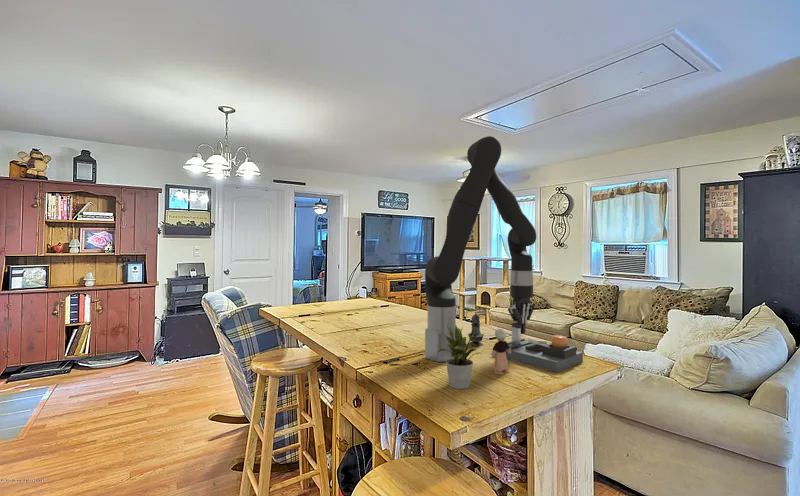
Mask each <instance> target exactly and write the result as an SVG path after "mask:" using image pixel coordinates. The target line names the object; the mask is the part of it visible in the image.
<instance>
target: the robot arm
mask: <svg viewBox="0 0 800 496" xmlns="http://www.w3.org/2000/svg"><path fill="white" fill-rule="evenodd" d="M466 156H467V157H466V158H467V160H468V163H469V164H470V165H471V167H470V169H469V172H468V174H467V176H466V178H465V179H464V181H463V182H462V183H461V186H460V187H459V189H458V190H457V191H456V193H455V196H454V198H453V199H452V202H451V205H450V208H449V211H448V214H447V217H446V232H445V239H444V242H443V245H442V248H441V251H440V253H439V255H438V256H437V255H436V256H434V257H431V258H430V259H429V260H428V261H427V263H426V266H425V270H424V271H425V272H424V285H425V296H426V302H427V314H426V315H427V319H426V321H427V323H426V324H427V327H426V328H425V329H424V358H425V359H428V360H431V361H433V362H436V363H439V362H446V360H448V359H451V355H450V354H451V353H452V351H451V349H450V347H448V346H447V344H448V343H449V341H448V340H447V337H450V338H451V336H450V333H449V330H448V328H447V326H449V327H450V328H451V330H452V333H453V336H454V339H455V325H456V319H457V317H456V315H457V313H456V308H457V307H456V305H457V301H456V296H455V294H454V292H453V288H452V284H454V283H455V281H456V280H457V279H458V277H459V275H460V272H461V267H462V263H463V259H464V254H465V251H466V249H467V248H466V247H467V244H468V242H469V240H470V237H471V234H472V231H473V229H474V225H476V224H475V223H476V220H477V218H478V215H479V213H480V209H481V206H482V203H483V200H484V197H485V194H486V191H488V194H489V195H490V197H491V198H492V199H491V200H492V201H493V202H494V205H495V206H496V209H497V210H498V213H499V215H500V217H501V219H502V221H503V222H504V223H505V224H507V225H509V226H510V227H511V229H510V230H509V232H508V235H507V244H508V245H507V246H508V251H509V255H510V259H511V260H510V261H511V262H510V263H511V265H510V269H511V270H510V275H509V276H510V281H509V282H510V284H509V285H510V287H509V288H510V292H509V293H510V294H509V296H510V297H511V298H512V304H511V305H512V306H511V307H508V308H507V312H508V313H509V315H510V317H511V319H512V321H513V322H515V323H519V324H521V335H525V334H526V332H527V331H526V329H527V328H526V327H527V326H526V323H528V321H530V319H531V318H532V315H533V312H534V310H535V305H533V304H532V303H531V299H532V298H533V297H534V275H533V256H532V254H530V253H528V251H527V247H530V246H532V245H534V244H535V242H536V241H537V232H536V229H535V227H534V225H533V224H532V222H531V221H530V220H529V219H528V217H527V216H526V215H525V214H524V213H523V211H522V209H521V206H520V204H519V201H518V199H517V197H516V196H515V194H514V193H513V191H512V189H511V188H510V187H509V186H508V185H507V184H506V183H505V182H504V181H503V180H502V178H501V177H500V176H499V174H498V172H497V171H496V169H495V168H496V167H497V165H498V163H499V161H500V159H501V156H502V145H501V142H500V141H499V140H498V138H497V137H494V136H492V135H490V136H484V137H482V138H480V139H478V140H477V141H475V142H474V143H472V144H471V145H470V146H469V147H468V149H467V154H466ZM445 324H446V325H447V326H446V325H445ZM456 326H457V325H456ZM432 329H434V330H432ZM437 330H438V331H437ZM441 332H442V333H441ZM438 333H439V334H438ZM442 335H443V336H444V337H445V336H447V337H445V338H444V337H443V336H442ZM451 339H452V338H451ZM446 340H447V341H446ZM449 344H450V343H449ZM433 345H435V346H433ZM438 346H439V347H438ZM440 347H441V348H442V349H446V350H444V351H445V352H446V353H445V352H444V351H440V352H438V353H437V351H438V350H439V349H441V348H440ZM447 350H448V351H447ZM449 351H450V352H451V353H450V352H449ZM452 358H454V357H452Z"/></svg>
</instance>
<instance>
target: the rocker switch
mask: <svg viewBox="0 0 800 496" xmlns="http://www.w3.org/2000/svg"><path fill="white" fill-rule="evenodd" d="M527 340H528V342H532V343H537V344H545V345H547V343H548V342H547V341H546V340H541V339H536V338H528V339H527Z"/></svg>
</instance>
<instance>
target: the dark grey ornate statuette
mask: <svg viewBox="0 0 800 496" xmlns="http://www.w3.org/2000/svg"><path fill="white" fill-rule="evenodd" d="M480 320H481V318H480V316H479V315H478V314H477V312H475V313H474V314H473V315H472V316H471V324H470V325H471V332H470V333H468V334H467V336H468V339H469V340H470V338H471V337H472V335H473V334H474V333H475V334H474V336H473V338H472V339H471V341H470V342H469V344H472V345H471V347H482V346H483V345H484V344H483V343H482V341H483V339H484V336H485V334H484V333H481V328H480V327H481V323H480V322H481V321H480ZM475 331H476V332H475ZM481 334H482V335H481ZM479 335H480V336H479ZM476 337H477V338H476ZM475 338H476V339H475ZM474 339H475V340H474ZM473 340H474V341H473ZM473 343H474V344H473Z"/></svg>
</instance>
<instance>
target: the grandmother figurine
mask: <svg viewBox="0 0 800 496" xmlns="http://www.w3.org/2000/svg"><path fill="white" fill-rule="evenodd" d="M494 335H495V338H496V340H497V341H498V342H495V343H494V345H493V348H492V351H491V354H490V355H491V356H492V357H495V358H494V365H493V366H494V367H493V369H494V371H493V372H494V374H496V375H500V376H502V375H504V374H508V373H509V370H508V369H509V368H508V359H507V357H506V349H507V351H508V353H509V354H511V351H510V347H509V345H508V344H507V343H508V341H506V338H507V335H508V333H507V332H506V330H505V329H503V328H497V329H496V330H495V332H494ZM495 353H496V355H495Z"/></svg>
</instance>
